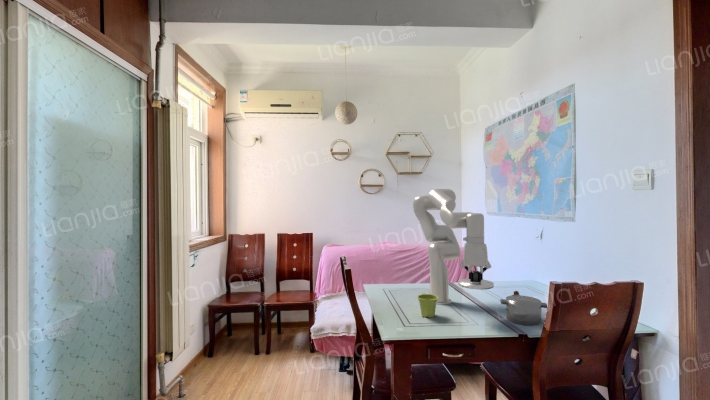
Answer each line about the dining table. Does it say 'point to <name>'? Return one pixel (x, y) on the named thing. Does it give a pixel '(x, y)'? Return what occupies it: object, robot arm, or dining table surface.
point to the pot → (523, 310)
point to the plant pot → (427, 304)
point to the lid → (476, 282)
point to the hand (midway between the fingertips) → (475, 280)
